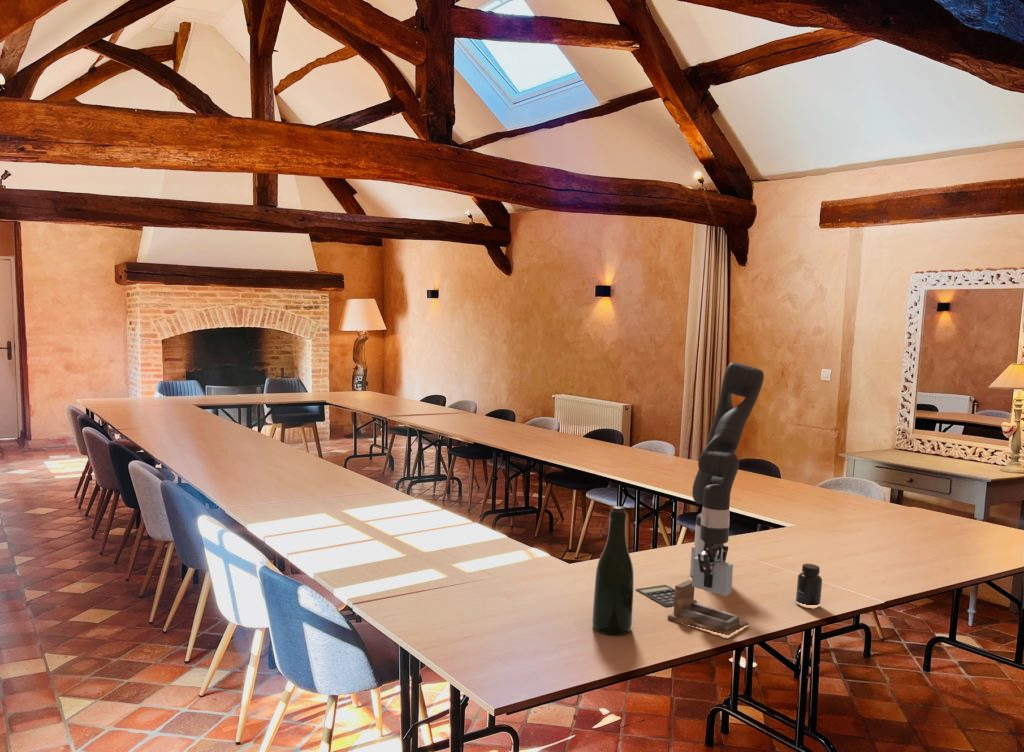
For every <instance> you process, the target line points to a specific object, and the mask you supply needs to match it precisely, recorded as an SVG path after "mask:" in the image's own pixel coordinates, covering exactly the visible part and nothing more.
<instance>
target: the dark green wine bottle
mask: <svg viewBox="0 0 1024 752" xmlns="http://www.w3.org/2000/svg"><path fill="white" fill-rule="evenodd" d="M626 521H627V512H626V508H625V507H624V506H621V505H613V506H612V507H611V510H610V512H609V525H608V526H609V527H608V535H607V539H606V543H605V546H604V547H603V548H604V549H603V550H602V552H601V554H600V557H599V559H598V563H597V565H596V571H595V580H594V591H593V592H594V593H593V604H592V605H593V607H592V617H591V618H592V619H591V620H592V627H593V628H594V630H595V631H597V632H599V633H602V634H605V635H611V636H622V635H626V634H628V633H629V632H630V631H631V629H632V625H633V610H634V609H633V608H634V581H635V580H634V579H635V577H634V566H633V562H632V559H631V556H630V552H629V549H628V545H627V539H626V538H627V537H626V524H627V522H626Z"/></svg>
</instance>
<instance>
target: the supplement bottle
mask: <svg viewBox="0 0 1024 752" xmlns="http://www.w3.org/2000/svg"><path fill="white" fill-rule="evenodd" d="M820 570H821V568H820V566H819V565H817V564H813V563H803V564H802V566H801V572H800V573H799V574H798V575H797V582H796V583H797V584H796V585H797V586H796V594H795V595H796V596H795V602H796V601H797V602H799V603H802V604H806V605H818V604H820V605H821V598H822V588H823V579H822V577H821V575H820Z"/></svg>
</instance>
